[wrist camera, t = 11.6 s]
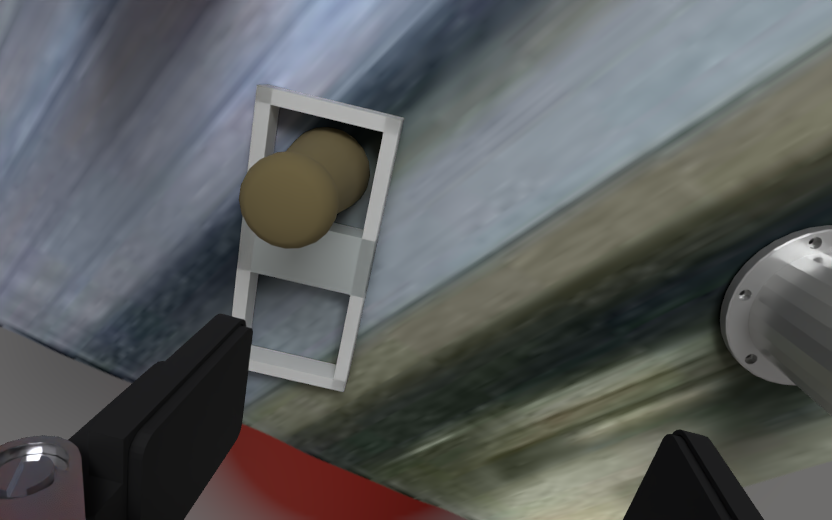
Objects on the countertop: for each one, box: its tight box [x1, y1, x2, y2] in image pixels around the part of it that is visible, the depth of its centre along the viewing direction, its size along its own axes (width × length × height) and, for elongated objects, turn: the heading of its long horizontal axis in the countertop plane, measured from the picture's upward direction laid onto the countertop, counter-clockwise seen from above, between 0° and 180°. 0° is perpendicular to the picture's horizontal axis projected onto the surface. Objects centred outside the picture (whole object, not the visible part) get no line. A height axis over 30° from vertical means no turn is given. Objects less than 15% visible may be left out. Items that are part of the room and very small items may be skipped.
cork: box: [239, 127, 370, 249], centre depth 30 cm, size 6×6×11 cm
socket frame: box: [232, 84, 404, 392], centre depth 36 cm, size 10×22×2 cm, turn 167°
